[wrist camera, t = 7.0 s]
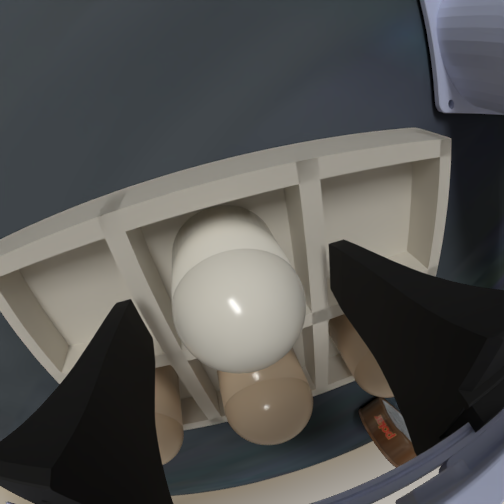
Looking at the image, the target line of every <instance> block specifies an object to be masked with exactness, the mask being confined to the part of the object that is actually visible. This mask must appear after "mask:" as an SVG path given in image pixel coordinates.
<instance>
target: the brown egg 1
mask: <svg viewBox="0 0 504 504" xmlns="http://www.w3.org/2000/svg"><path fill="white" fill-rule="evenodd" d="M155 424H156V432H157V439H158V445H159V451H160V456H161V461H162V465H163V464H166V463H167V462H169V461H170V460H172V459H173V458H174V457H175V456H176V455H177V453H178V452H179V450H180V448H181V446H182V442H183V437H184V431H183V421H182V411H181V401H180V389H179V377H178V374H177V373H176V371H175V370H174V368H173V367H172V366H171V365H167V366H162V367H157V368H155Z"/></svg>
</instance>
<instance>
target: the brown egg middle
mask: <svg viewBox="0 0 504 504" xmlns="http://www.w3.org/2000/svg"><path fill="white" fill-rule="evenodd" d="M217 376H218V381H219V387H220V392H221V397H222V402H223V407H224V412H225V415H226V418H227V420H228V422H229V424H230V426H231V427H232V429H233V430H234V431H235V432H236V433H237V434H238V435H240V436H241V437H242V438H244V439H246V440H248V441H250V442H253V443H256V444H261V445H275V444H280V443H283V442H286V441H288V440H290V439H292V438H293V437H295V436H296V435H298V434H299V433H300V432H301V431H302V430H303V429H304V427H305V426H306V425H307V423H308V421H309V419H310V417H311V414H312V410H313V396H312V391H311V388H310V386H309V383H308V381H307V379H306V377H305V374H304V372H303V370H302V368H301V365H300V363H299V361H298V358H297V356H296V354H295V352H294V349H293V347H292V349H291V350H290V351H289V352H288V353H287V354H286V355H285V356H284V357H283V358H282V359H280V360H279V361H278V362H276V363H275V364H273V365H271V366H269V367H267V368H265V369H262V370H259V371H256V372H251V373H243V374H236V373H228V372H222V371H219V370H217Z"/></svg>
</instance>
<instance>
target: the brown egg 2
mask: <svg viewBox="0 0 504 504" xmlns="http://www.w3.org/2000/svg"><path fill="white" fill-rule="evenodd" d="M328 333H329V335H330V337H331V338H332V340H333V342H334V344H335V345H336V347H337V349H338V351H339V352H340V354H341V356H342V358H343V359H344V361H345V363H346V365H347V366H348V368H349V370H350V372H351V373H352V375H353V377H354V379H355V381H356V382H357V384H358V385H359V386H360V387H361V388H362V389H363V390H364V391H366V392H367V393H369V394H371V395H374V396H377V397H382V398H390V397H394V395H393V393H392V391H391V389H390V387H389V384H388V382H387V380H386V378H385V376H384V374H383V372H382V370H381V368H380V367H379V365H378V363H377V361H376V359H375V358H374V356H373V354H372V353H371V351H370V350H369V348H368V347H367V345H366V344H365V343H364V341H363V340H362V338H361V337H360V335H359V334H358V333H357V331H356V330H355V328H354V327H353V326H352V324H351V323H350V321H349V320H348V318H347V317H346V316H345V314H343V315H340V316H337V317H334V318H332V319H330V320H329V323H328Z"/></svg>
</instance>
